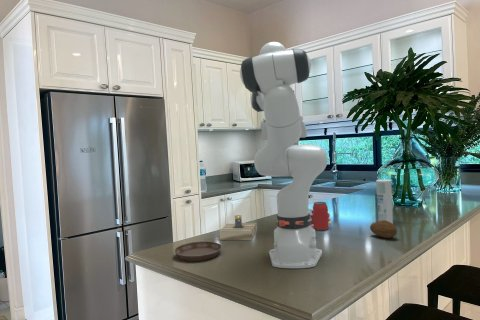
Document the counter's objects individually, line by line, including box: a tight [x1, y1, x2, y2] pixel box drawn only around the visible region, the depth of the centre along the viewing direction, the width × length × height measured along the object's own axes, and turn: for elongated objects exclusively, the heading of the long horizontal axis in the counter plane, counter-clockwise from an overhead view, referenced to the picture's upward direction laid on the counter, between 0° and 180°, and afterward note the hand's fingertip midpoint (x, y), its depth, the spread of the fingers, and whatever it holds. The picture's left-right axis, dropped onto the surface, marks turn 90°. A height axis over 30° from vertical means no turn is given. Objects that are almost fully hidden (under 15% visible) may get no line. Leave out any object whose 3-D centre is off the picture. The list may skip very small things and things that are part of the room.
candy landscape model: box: [308, 206, 332, 228], centre depth 177 cm, size 25×24×9 cm
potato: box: [369, 220, 398, 239], centre depth 142 cm, size 7×12×7 cm, turn 36°
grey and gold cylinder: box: [234, 214, 243, 228], centre depth 159 cm, size 3×3×9 cm
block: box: [218, 222, 258, 241], centre depth 159 cm, size 14×14×4 cm
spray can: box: [375, 179, 394, 225], centre depth 163 cm, size 6×6×20 cm
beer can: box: [312, 201, 330, 231], centre depth 161 cm, size 7×7×12 cm
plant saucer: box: [174, 241, 223, 262], centre depth 135 cm, size 18×18×3 cm
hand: (284, 149), depth 161 cm, fingers open, 8 cm apart
